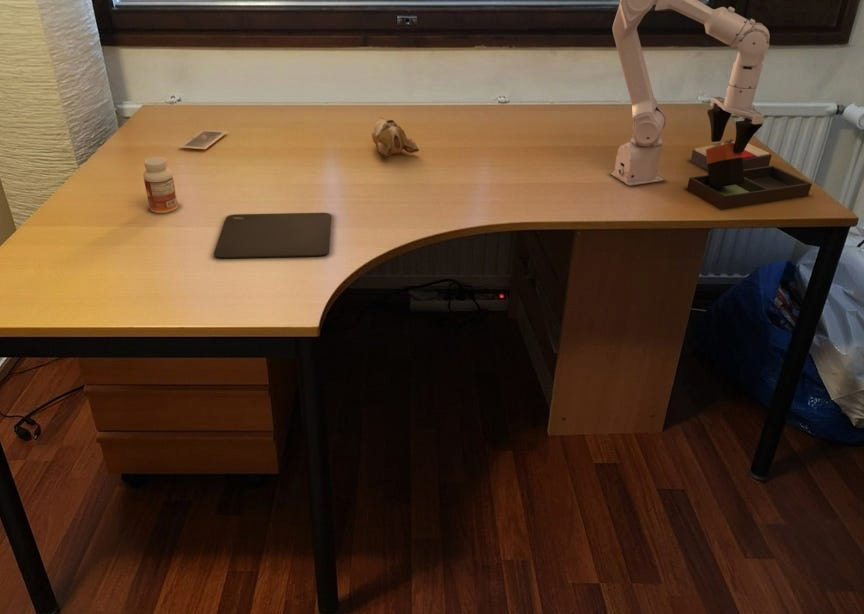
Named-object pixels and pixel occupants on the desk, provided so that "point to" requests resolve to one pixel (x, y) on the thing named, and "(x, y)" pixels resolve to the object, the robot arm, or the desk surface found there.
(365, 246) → the desk surface
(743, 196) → the organizer
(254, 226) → the mouse pad
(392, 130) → the ceramic sculpture
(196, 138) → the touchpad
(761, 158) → the red and cream box
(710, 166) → the battery
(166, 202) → the pill bottle
